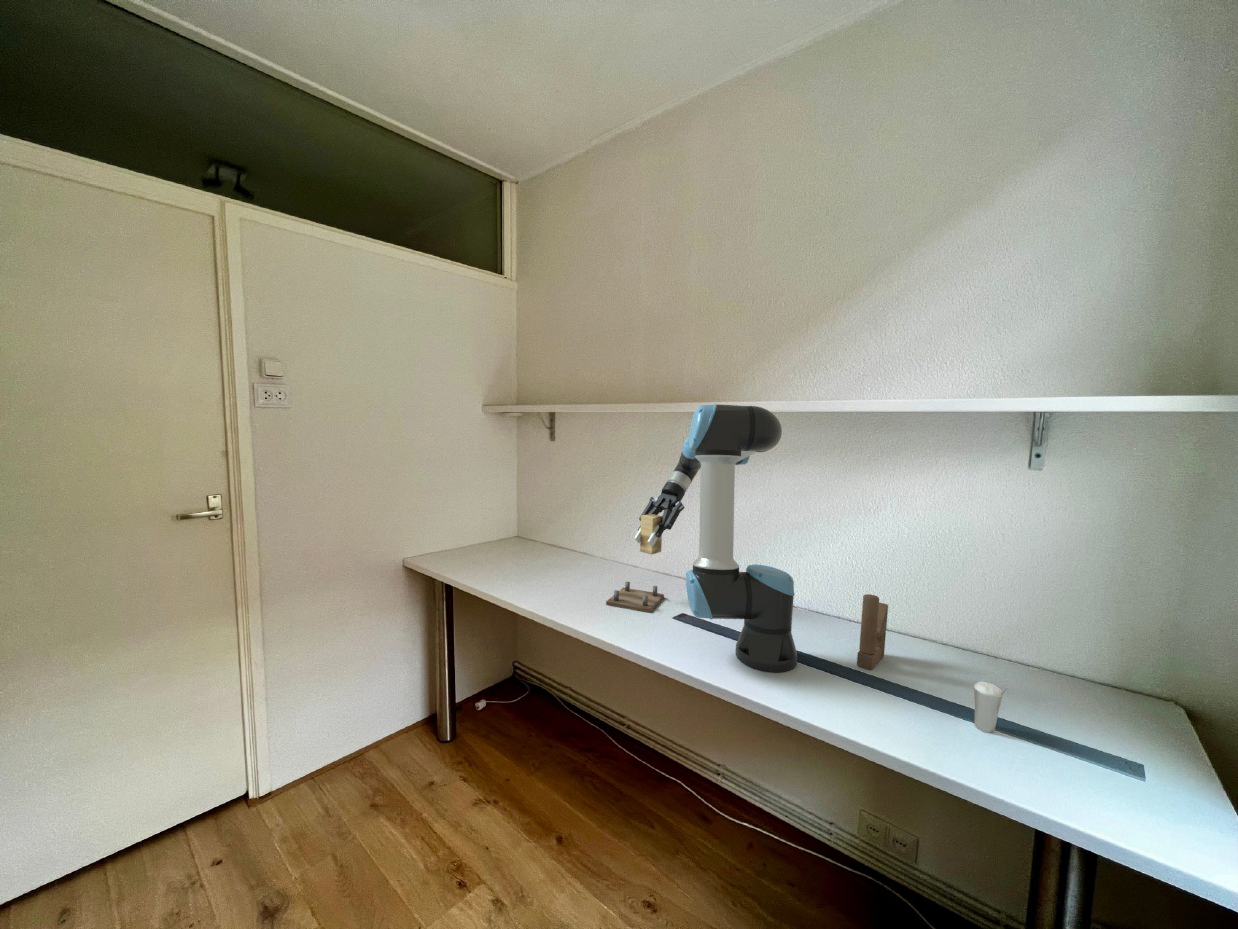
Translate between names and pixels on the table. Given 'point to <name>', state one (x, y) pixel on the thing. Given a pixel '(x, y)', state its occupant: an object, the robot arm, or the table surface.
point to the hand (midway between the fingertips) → (643, 542)
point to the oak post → (649, 533)
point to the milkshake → (987, 706)
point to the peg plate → (635, 599)
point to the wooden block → (872, 632)
